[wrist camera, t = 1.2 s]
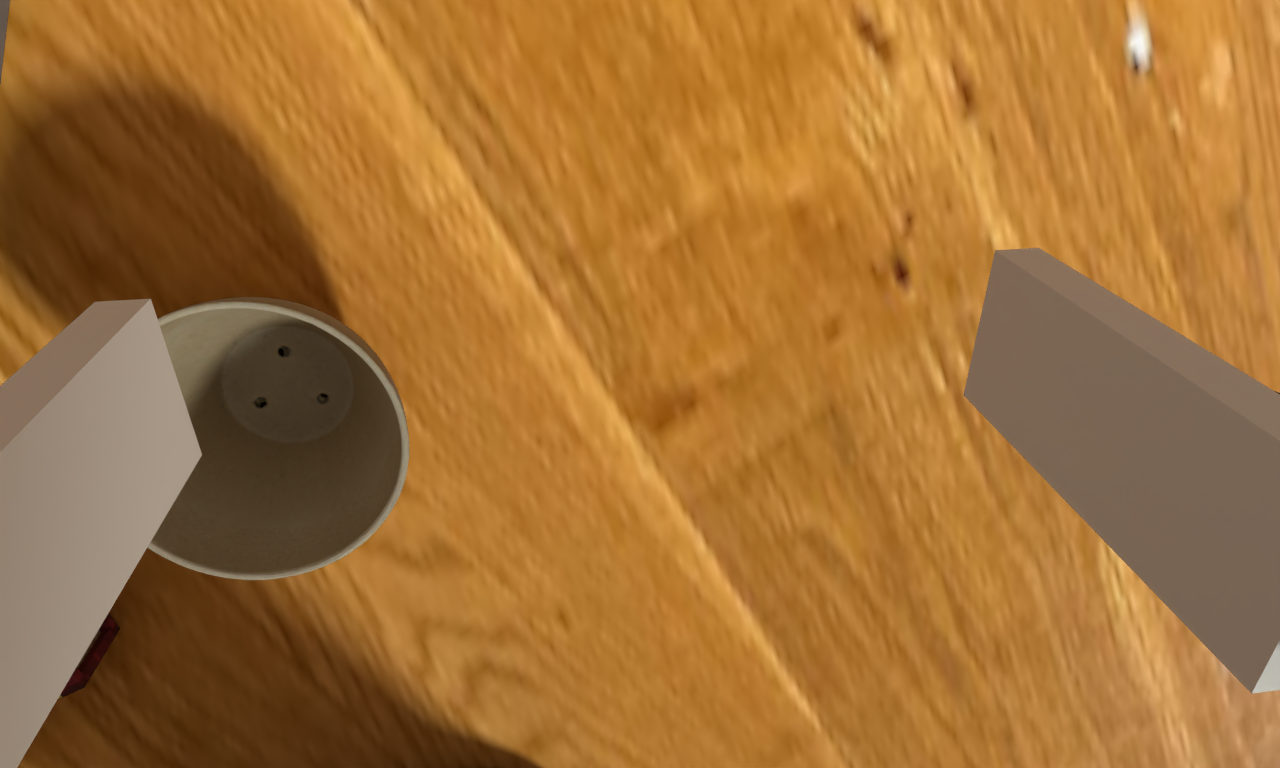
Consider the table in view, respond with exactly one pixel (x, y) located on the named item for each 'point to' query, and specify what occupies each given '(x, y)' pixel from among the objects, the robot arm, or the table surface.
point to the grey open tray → (3, 28)
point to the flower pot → (279, 439)
